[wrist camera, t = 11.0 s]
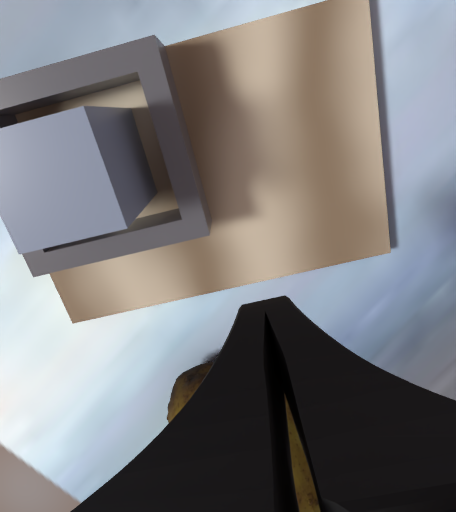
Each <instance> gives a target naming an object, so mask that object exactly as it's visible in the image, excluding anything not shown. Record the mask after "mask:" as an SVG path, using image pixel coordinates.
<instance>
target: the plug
mask: <svg viewBox="0 0 456 512" xmlns="http://www.w3.org/2000/svg"><path fill="white" fill-rule="evenodd" d="M157 193H158V192H157V189H156V186H155V183H154V180H153V177H152V173H151V170H150V167H149V164H148V161H147V157H146V154H145V151H144V148H143V145H142V142H141V138H140V135H139V132H138V129H137V126H136V123H135V119H134V116H133V113H132V110H131V108H119V107H97V106H81V107H77V108H74V109H70V110H66V111H62V112H59V113H55V114H51V115H48V116H44V117H40V118H37V119H33V120H29V121H25V122H22V123H18V124H14V125H11V126H7V127H3V128H0V216H1V218H2V220H3V222H4V224H5V226H6V228H7V230H8V232H9V234H10V237H11V239H12V241H13V243H14V245H15V247H16V249H17V251H18V253H19V254H23V253H27V252H32V251H36V250H40V249H44V248H48V247H52V246H57V245H61V244H65V243H69V242H73V241H78V240H82V239H86V238H90V237H94V236H98V235H103V234H107V233H111V232H115V231H119V230H124V229H127V228H128V227H129V226H130V225H131V224H132V222H133V221H134V220H135V219H136V218H137V217H138V215H139V214H140V213H141V212H142V211H143V209H144V208H145V207H146V206H147V205H148V203H149V202H150V201H151V200H152V199H153V198H154V196H155V195H156V194H157Z"/></svg>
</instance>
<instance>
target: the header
mask: <svg viewBox="0 0 456 512" xmlns="http://www.w3.org/2000/svg"><path fill="white" fill-rule="evenodd" d="M139 80H140V81H141V85H142V88H143V91H144V95H145V98H146V101H147V105H148V108H149V111H150V115H151V118H152V121H153V125H154V128H155V131H156V135H157V138H158V141H159V144H160V148H161V151H162V154H163V158H164V161H165V164H166V168H167V171H168V174H169V178H170V181H171V184H172V188H173V191H174V194H175V198H176V201H177V204H178V208H177V209H173V210H169V211H165V212H161V213H157V214H153V215H149V216H145V217H141V218H136V219H135V220H134V221H133V222H132V224H131V225H130V226H129V227H128V228H127V229H124V230H119V231H115V232H111V233H107V234H103V235H98V236H94V237H90V238H86V239H82V240H78V241H73V242H69V243H65V244H61V245H57V246H52V247H48V248H44V249H40V250H36V251H32V252H27V253H23V254H22V255H23V257H24V259H25V261H26V263H27V265H28V267H29V269H30V271H31V273H32V275H33V277H36V276H40V275H45V274H49V273H53V272H57V271H62V270H66V269H70V268H74V267H78V266H83V265H87V264H91V263H95V262H100V261H104V260H108V259H112V258H117V257H121V256H125V255H129V254H134V253H138V252H142V251H146V250H150V249H155V248H159V247H163V246H167V245H172V244H176V243H180V242H184V241H189V240H193V239H197V238H201V237H206V236H210V231H211V223H212V219H211V215H210V211H209V207H208V204H207V200H206V196H205V193H204V189H203V185H202V182H201V178H200V174H199V170H198V167H197V163H196V159H195V156H194V152H193V148H192V145H191V141H190V137H189V133H188V130H187V126H186V122H185V119H184V115H183V111H182V108H181V104H180V100H179V97H178V93H177V89H176V85H175V82H174V78H173V74H172V71H171V67H170V63H169V60H168V56H167V52H166V48H165V46H164V45H163V44H162V43H161V41H160V40H159V39H158V38H157V37H156V36H155V35H152V36H148V37H145V38H141V39H138V40H134V41H131V42H127V43H124V44H120V45H117V46H113V47H110V48H106V49H103V50H99V51H96V52H92V53H89V54H85V55H82V56H78V57H75V58H71V59H68V60H64V61H61V62H57V63H54V64H50V65H47V66H43V67H40V68H36V69H33V70H29V71H26V72H22V73H19V74H15V75H12V76H9V77H5V78H2V79H0V128H3V127H7V126H11V125H14V124H18V121H17V119H16V116H15V115H16V114H19V113H23V112H26V111H30V110H34V109H37V108H41V107H44V106H48V105H52V104H55V103H59V102H63V101H66V100H70V99H73V98H77V97H81V96H84V95H88V94H92V93H95V92H99V91H102V90H106V89H110V88H113V87H117V86H121V85H124V84H128V83H131V82H135V81H139Z"/></svg>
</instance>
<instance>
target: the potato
mask: <svg viewBox="0 0 456 512" xmlns="http://www.w3.org/2000/svg"><path fill="white" fill-rule="evenodd" d="M213 363H214V362H209V363H204V364H200V365H198V366H195V367H193V368H191V369H189V370H187V371H185V372H183V373H182V374H181V375H180V376H179V377H178V378H177V379H176V382H175V384H174V386H173V389H172V393H171V398H170V402H169V404H168V416H167V420H168V422H169V423H170V421H171V420H172V419H173V418H174V417H175V416H176V415H177V414H178V412H179V411H180V410H181V409H182V408H183V407H184V406H185V404H186V403H187V402H188V401H189V399H190V398H191V397H192V395H193V394H194V393H195V391H196V390H197V388H198V387H199V386H200V384H201V383H202V381H203V380H204V378H205V377H206V375H207V373H208V372H209V370H210V368H211V367H212V365H213ZM284 394H285V393H284ZM285 403H286V413H287V422H288V431H289V441H290V450H291V460H292V469H293V476H294V483H295V490H296V496H297V501H298V506H299V511H300V512H320V508H319V504H318V499H317V495H316V491H315V487H314V484H313V480H312V476H311V473H310V469H309V466H308V463H307V460H306V457H305V454H304V451H303V448H302V445H301V442H300V439H299V436H298V433H297V430H296V427H295V424H294V421H293V417H292V414H291V411H290V408H289V405H288V402H287V399H286V396H285Z"/></svg>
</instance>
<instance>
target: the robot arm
mask: <svg viewBox="0 0 456 512" xmlns="http://www.w3.org/2000/svg"><path fill="white" fill-rule="evenodd" d="M284 393H285V394H284ZM285 396H286V399H287V402H288V405H289V408H290V411H291V414H292V417H293V421H294V424H295V427H296V430H297V433H298V436H299V439H300V442H301V445H302V448H303V451H304V454H305V457H306V460H307V463H308V466H309V469H310V473H311V476H312V480H313V484H314V487H315V491H316V495H317V499H318V504H319V508H320V512H456V401H455V400H453V399H450V398H447V397H445V396H442V395H439V394H436V393H434V392H431V391H429V390H427V389H424V388H422V387H419V386H417V385H415V384H412V383H410V382H408V381H406V380H404V379H402V378H399V377H397V376H395V375H393V374H391V373H389V372H387V371H385V370H383V369H381V368H379V367H377V366H375V365H373V364H371V363H370V362H368V361H366V360H364V359H363V358H361V357H359V356H358V355H356V354H355V353H353V352H352V351H350V350H349V349H347V348H346V347H344V346H343V345H341V344H340V343H339V342H337V341H336V340H334V339H333V338H332V337H330V336H329V335H328V334H326V333H325V332H324V331H323V330H322V329H320V328H319V327H318V326H317V325H316V324H314V323H313V322H312V321H311V320H310V319H309V318H308V317H306V316H305V315H304V314H303V313H302V312H301V311H300V310H299V309H298V308H297V307H296V306H295V305H294V303H293V302H292V301H291V300H290V298H288V297H286V296H280V297H276V298H271V299H267V300H262V301H258V302H253V303H248V304H244V305H241V307H240V308H239V310H238V313H237V316H236V319H235V321H234V324H233V326H232V328H231V331H230V333H229V335H228V337H227V339H226V341H225V343H224V345H223V347H222V349H221V351H220V353H219V355H218V356H217V358H216V360H215V362H214V363H213V365H212V367H211V368H210V370H209V372H208V373H207V375H206V377H205V378H204V380H203V381H202V383H201V384H200V386H199V387H198V388H197V390H196V391H195V393H194V394H193V395H192V397H191V398H190V399H189V401H188V402H187V403H186V404H185V406H184V407H183V408H182V409H181V410H180V411H179V412H178V414H177V415H176V416H175V417H174V418H173V419H172V420H171V421H170V423H169V424H168V425H167V426H166V427H165V428H164V429H163V431H162V432H161V433H160V434H159V435H158V436H157V437H156V438H155V439H154V440H153V441H152V442H151V443H150V444H149V445H148V446H147V447H146V448H145V449H144V450H143V451H142V452H140V453H139V454H138V455H137V456H136V457H135V458H134V459H133V460H132V461H131V462H130V463H129V464H128V465H126V466H125V467H124V468H123V469H122V470H121V471H120V472H118V473H117V474H116V475H115V476H114V477H113V478H111V479H110V480H109V481H108V482H107V483H105V484H104V485H103V486H102V487H100V488H99V489H98V490H97V491H96V492H94V493H93V494H92V495H91V496H89V497H88V498H87V499H86V500H84V501H83V502H82V503H81V504H80V505H78V506H77V507H76V508H75V509H73V510H72V511H71V512H300V511H299V506H298V501H297V496H296V490H295V483H294V476H293V469H292V460H291V450H290V441H289V431H288V422H287V413H286V403H285Z"/></svg>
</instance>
